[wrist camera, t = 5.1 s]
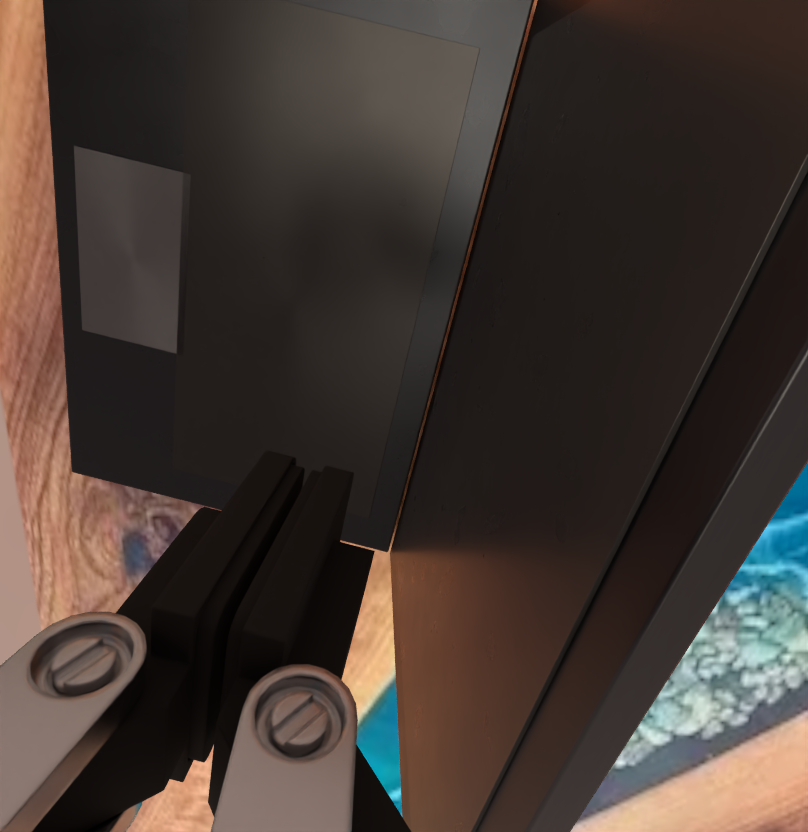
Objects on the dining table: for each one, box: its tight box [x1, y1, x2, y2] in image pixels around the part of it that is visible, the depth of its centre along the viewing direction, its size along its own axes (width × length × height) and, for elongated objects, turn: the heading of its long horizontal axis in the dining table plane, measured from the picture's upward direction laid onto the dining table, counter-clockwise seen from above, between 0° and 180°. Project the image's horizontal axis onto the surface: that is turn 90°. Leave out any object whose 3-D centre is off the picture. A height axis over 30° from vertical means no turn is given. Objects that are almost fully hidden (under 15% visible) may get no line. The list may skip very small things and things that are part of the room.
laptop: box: [43, 0, 534, 552], centre depth 24 cm, size 17×24×2 cm
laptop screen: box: [390, 0, 808, 832], centre depth 16 cm, size 17×24×1 cm
